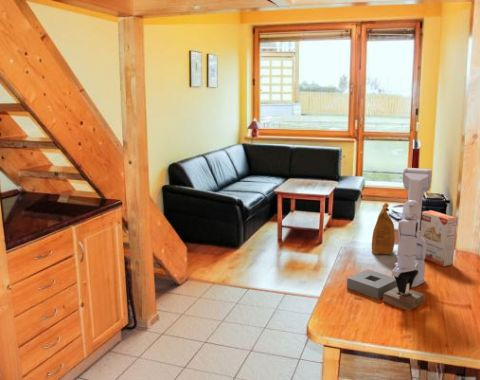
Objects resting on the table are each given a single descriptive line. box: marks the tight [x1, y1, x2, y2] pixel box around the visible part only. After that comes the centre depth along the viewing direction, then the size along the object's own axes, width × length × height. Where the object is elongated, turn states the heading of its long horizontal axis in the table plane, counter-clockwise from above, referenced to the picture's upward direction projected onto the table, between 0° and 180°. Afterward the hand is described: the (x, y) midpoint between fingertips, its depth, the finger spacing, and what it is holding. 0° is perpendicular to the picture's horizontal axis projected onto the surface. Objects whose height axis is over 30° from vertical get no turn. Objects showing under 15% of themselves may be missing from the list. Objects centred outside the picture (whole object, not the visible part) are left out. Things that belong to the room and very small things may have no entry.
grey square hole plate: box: [346, 269, 398, 300], centre depth 182 cm, size 13×13×4 cm
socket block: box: [382, 287, 426, 312], centre depth 171 cm, size 10×10×3 cm
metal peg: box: [400, 282, 410, 297], centre depth 170 cm, size 3×3×7 cm
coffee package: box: [371, 202, 396, 256], centre depth 222 cm, size 10×12×22 cm
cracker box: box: [419, 209, 458, 268], centre depth 210 cm, size 14×6×21 cm, turn 25°
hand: (404, 291), depth 170 cm, fingers closed on metal peg, 3 cm apart
